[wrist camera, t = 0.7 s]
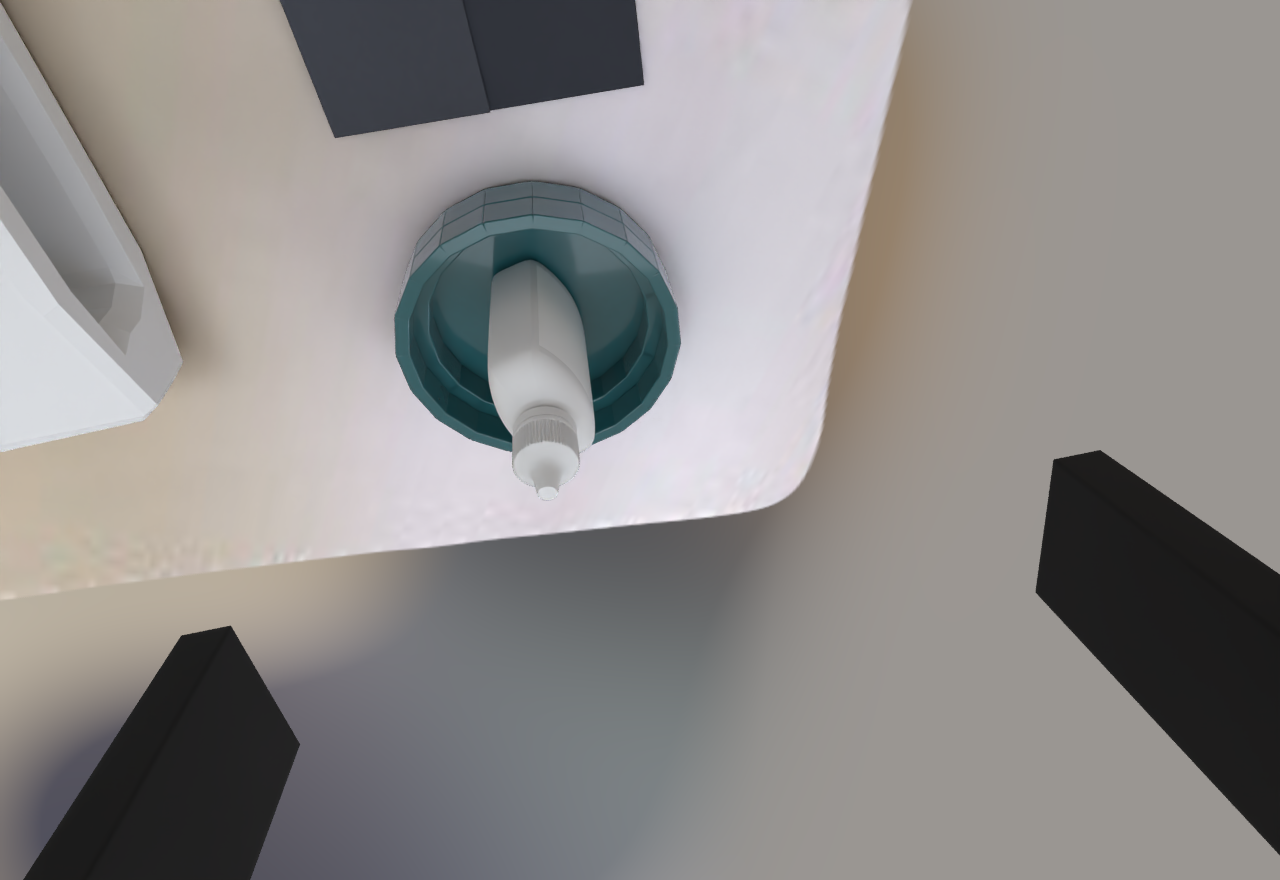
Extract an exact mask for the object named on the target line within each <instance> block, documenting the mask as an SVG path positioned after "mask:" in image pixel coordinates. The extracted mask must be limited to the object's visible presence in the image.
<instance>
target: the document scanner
mask: <svg viewBox="0 0 1280 880" xmlns="http://www.w3.org/2000/svg"><path fill="white" fill-rule="evenodd" d="M182 363H183V360H182V357H181V354H180V352H179V349H178V346H177V344H176V341H175V338H174V336H173V333H172V331H171V328H170V325H169V323H168V320H167V317H166V315H165V312H164V310H163V307H162V304H161V302H160V299H159V296H158V294H157V291H156V288H155V286H154V283H153V281H152V278H151V275H150V273H149V270H148V267H147V265H146V262H145V259H144V257H143V254H142V252H141V249H140V247H139V246H138V244H137V242H136V240H135V239H134V237H133V235H132V233H131V232H130V230H129V228H128V226H127V224H126V223H125V221H124V219H123V217H122V216H121V214H120V212H119V210H118V209H117V207H116V205H115V203H114V202H113V200H112V198H111V196H110V194H109V193H108V191H107V189H106V187H105V186H104V184H103V182H102V180H101V179H100V177H99V175H98V173H97V171H96V170H95V168H94V166H93V164H92V163H91V161H90V159H89V157H88V156H87V154H86V152H85V150H84V149H83V147H82V145H81V143H80V141H79V140H78V138H77V136H76V134H75V133H74V131H73V129H72V127H71V126H70V124H69V122H68V120H67V119H66V117H65V115H64V113H63V111H62V110H61V108H60V106H59V104H58V103H57V101H56V99H55V97H54V96H53V94H52V92H51V90H50V89H49V87H48V85H47V83H46V81H45V80H44V78H43V76H42V74H41V73H40V71H39V69H38V67H37V66H36V64H35V62H34V60H33V59H32V57H31V55H30V53H29V52H28V50H27V48H26V46H25V45H24V43H23V41H22V39H21V37H20V36H19V34H18V32H17V30H16V29H15V27H14V25H13V23H12V22H11V20H10V18H9V16H8V15H7V13H6V11H5V9H4V8H3V6H2V4H1V2H0V452H3V451H8V450H12V449H17V448H21V447H26V446H30V445H35V444H40V443H44V442H49V441H53V440H58V439H62V438H67V437H71V436H76V435H81V434H85V433H90V432H94V431H99V430H103V429H108V428H112V427H117V426H122V425H126V424H131V423H135V422H140V421H144V420H145V419H146V418H147V416H148V415H149V414H150V413H151V412H152V411H153V410H154V409H155V408H156V407H157V406H158V404H159V403H160V401H161V400H162V398H163V397H164V395H165V394H166V392H167V391H168V389H169V387H170V386H171V384H172V382H173V381H174V379H175V377H176V375H177V373H178V371H179V369H180V367H181V365H182Z"/></svg>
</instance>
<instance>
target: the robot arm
mask: <svg viewBox="0 0 1280 880" xmlns="http://www.w3.org/2000/svg"><path fill="white" fill-rule="evenodd" d="M1036 593H1037V594H1038V595H1039V597H1040V598H1041V599H1042V600H1043V601H1044V602H1045V603H1046V604H1047V605H1048V606H1049V607H1050V608H1051V610H1052V611H1053V612H1054V613H1055V614H1056V615H1057V616H1058V617H1059V618H1060V619H1061V620H1062V621H1063V622H1064V624H1065V625H1066V626H1067V627H1068V628H1069V629H1070V630H1071V631H1072V632H1073V633H1074V634H1075V635H1076V636H1077V637H1078V639H1079V640H1080V641H1081V642H1082V643H1083V644H1084V645H1085V646H1086V647H1087V648H1088V649H1089V650H1090V651H1091V652H1092V654H1093V655H1094V656H1095V657H1096V658H1097V659H1098V660H1099V661H1100V662H1101V663H1102V664H1103V665H1104V667H1105V668H1106V669H1107V670H1108V671H1109V672H1110V673H1111V674H1112V675H1113V676H1114V677H1115V678H1116V679H1117V681H1118V682H1119V683H1120V684H1121V685H1122V686H1123V687H1124V688H1125V689H1126V690H1127V691H1128V692H1129V693H1130V695H1131V696H1132V697H1133V698H1134V699H1135V700H1136V701H1137V702H1138V703H1139V704H1140V705H1141V706H1142V707H1143V709H1144V710H1145V711H1146V712H1147V713H1148V714H1149V715H1150V716H1151V717H1152V718H1153V719H1154V720H1155V721H1156V723H1157V724H1158V725H1159V726H1160V727H1161V728H1162V729H1163V730H1164V731H1165V732H1166V733H1167V734H1168V735H1169V737H1171V739H1172V740H1173V741H1174V742H1175V743H1176V744H1177V745H1178V746H1179V747H1180V748H1181V749H1182V751H1183V752H1184V753H1185V754H1186V755H1187V756H1188V757H1189V758H1190V759H1191V760H1192V761H1193V762H1194V763H1195V764H1196V766H1197V767H1198V768H1199V769H1200V770H1201V771H1202V772H1203V773H1204V774H1205V775H1206V776H1207V777H1208V778H1209V780H1211V782H1212V783H1213V784H1214V785H1215V786H1216V787H1217V788H1218V789H1219V790H1220V791H1221V792H1222V794H1223V795H1224V796H1225V797H1226V798H1227V799H1228V800H1229V801H1230V802H1231V803H1232V804H1233V805H1234V806H1235V807H1236V808H1237V809H1238V811H1239V812H1240V813H1241V814H1242V815H1243V816H1244V817H1245V818H1246V819H1247V820H1248V821H1249V823H1250V824H1251V825H1252V826H1253V827H1254V828H1255V829H1256V830H1257V831H1258V832H1259V833H1260V834H1261V835H1262V837H1263V838H1264V839H1266V841H1267V842H1268V843H1269V844H1270V845H1271V846H1272V847H1273V848H1274V849H1275V851H1277V853H1278V854H1279V855H1280V574H1278V573H1277V572H1275V571H1274V570H1273V569H1271V568H1270V567H1268V566H1267V565H1265V564H1264V563H1262V562H1261V561H1260V560H1258V559H1257V558H1255V557H1254V556H1252V555H1251V554H1249V553H1248V552H1247V551H1245V550H1244V549H1242V548H1241V547H1239V546H1238V545H1236V544H1235V543H1233V542H1232V541H1231V540H1229V539H1228V538H1226V537H1225V536H1223V535H1222V534H1221V533H1219V532H1218V531H1216V530H1215V529H1213V528H1212V527H1210V526H1209V525H1207V524H1206V523H1205V522H1203V521H1202V520H1200V519H1199V518H1197V517H1196V516H1195V515H1193V514H1192V513H1190V512H1189V511H1187V510H1186V509H1184V508H1183V507H1182V506H1180V505H1179V504H1177V503H1176V502H1174V501H1173V500H1171V499H1170V498H1169V497H1167V496H1166V495H1164V494H1163V493H1161V492H1160V491H1158V490H1157V489H1156V488H1154V487H1153V486H1151V485H1150V484H1148V483H1147V482H1145V481H1144V480H1143V479H1141V478H1140V477H1138V476H1137V475H1135V474H1134V473H1132V472H1131V471H1130V470H1128V469H1127V468H1125V467H1124V466H1122V465H1121V464H1119V463H1118V462H1116V461H1115V460H1114V459H1112V458H1111V457H1109V456H1108V455H1106V454H1105V453H1103V452H1102V451H1101V450H1099V451H1094V452H1089V453H1084V454H1079V455H1074V456H1069V457H1064V458H1059V459H1054V461H1053V468H1052V475H1051V482H1050V490H1049V497H1048V505H1047V512H1046V519H1045V526H1044V534H1043V541H1042V548H1041V556H1040V563H1039V571H1038V578H1037V585H1036ZM299 746H300V743H299V742H298V740H297V738H296V737H295V735H294V733H293V731H292V730H291V728H290V726H289V725H288V723H287V721H286V720H285V718H284V716H283V714H282V713H281V711H280V709H279V707H278V706H277V704H276V702H275V701H274V699H273V697H272V696H271V694H270V692H269V690H268V689H267V687H266V685H265V684H264V682H263V680H262V678H261V677H260V675H259V673H258V671H257V670H256V669H255V666H254V665H253V663H252V661H251V659H250V658H249V656H248V654H247V653H246V651H245V649H244V648H243V646H242V644H241V642H240V641H239V639H238V637H237V635H236V634H235V632H234V630H233V629H232V627H231V626H227V627H222V628H217V629H212V630H207V631H203V632H197V633H192V634H187V635H182V636H181V637H180V639H179V640H178V642H177V643H176V645H175V646H174V648H173V649H172V651H171V652H170V654H169V656H168V657H167V659H166V660H165V662H164V663H163V665H162V666H161V668H160V669H159V671H158V672H157V674H156V676H155V677H154V679H153V680H152V682H151V683H150V685H149V687H148V688H147V690H146V691H145V693H144V694H143V696H142V697H141V699H140V700H139V702H138V703H137V705H136V706H135V708H134V710H133V711H132V713H131V714H130V716H129V717H128V719H127V720H126V722H125V723H124V725H123V727H122V728H121V730H120V731H119V733H118V734H117V736H116V737H115V739H114V741H113V742H112V744H111V745H110V747H109V748H108V750H107V751H106V753H105V754H104V756H103V757H102V759H101V761H100V762H99V764H98V765H97V767H96V768H95V770H94V771H93V773H92V774H91V776H90V778H89V779H88V781H87V782H86V784H85V785H84V787H83V789H82V790H81V792H80V793H79V795H78V796H77V798H76V799H75V801H74V802H73V804H72V805H71V807H70V808H69V810H68V812H67V813H66V815H65V816H64V818H63V820H62V821H61V822H60V824H59V825H58V827H57V829H56V830H55V832H54V833H53V835H52V837H51V838H50V839H49V841H48V843H47V844H46V846H45V847H44V849H43V850H42V852H41V853H40V855H39V857H38V858H37V859H36V861H35V863H34V864H33V866H32V867H31V869H30V870H29V872H28V873H27V875H26V876H25V878H24V879H23V880H250V878H251V876H252V873H253V871H254V868H255V865H256V862H257V860H258V857H259V854H260V851H261V849H262V846H263V843H264V841H265V838H266V835H267V832H268V830H269V827H270V824H271V822H272V819H273V816H274V814H275V811H276V808H277V805H278V803H279V800H280V797H281V794H282V792H283V789H284V786H285V784H286V781H287V778H288V775H289V773H290V770H291V767H292V765H293V762H294V759H295V756H296V754H297V751H298V748H299Z"/></svg>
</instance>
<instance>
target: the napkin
mask: <svg viewBox="0 0 1280 880" xmlns="http://www.w3.org/2000/svg"><path fill="white" fill-rule="evenodd" d="M280 2H281V4H282V7H283V9H284V12H285V14H286V17H287V19H288V22H289V24H290V27H291V29H292V32H293V34H294V37H295V39H296V42H297V44H298V47H299V49H300V52H301V54H302V57H303V59H304V62H305V64H306V67H307V69H308V72H309V74H310V77H311V79H312V82H313V84H314V87H315V89H316V92H317V94H318V97H319V99H320V102H321V104H322V107H323V109H324V112H325V114H326V117H327V119H328V122H329V124H330V127H331V129H332V132H333V134H334V137H335V138H339V137H345V136H351V135H357V134H363V133H369V132H375V131H381V130H387V129H393V128H399V127H405V126H411V125H417V124H423V123H429V122H435V121H441V120H447V119H453V118H459V117H465V116H471V115H477V114H483V113H489V112H490V110H496V109H502V108H508V107H514V106H520V105H526V104H532V103H538V102H544V101H550V100H556V99H562V98H568V97H574V96H580V95H586V94H592V93H598V92H604V91H610V90H616V89H622V88H628V87H634V86H640V85H644V80H643V71H642V62H641V52H640V43H639V33H638V24H637V15H636V5H635V0H280Z"/></svg>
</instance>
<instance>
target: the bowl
mask: <svg viewBox="0 0 1280 880" xmlns="http://www.w3.org/2000/svg"><path fill="white" fill-rule="evenodd" d="M525 260H534V261H537V262H539V263H540V264H542V265H543V266H545V267H546V268H547V269H548V270H550V271H551V272H552V273H553V274H554V275H555V276H556V277H557V278H558V279H559V280H560V281H561V282H562V284H563V285H564V286H565V287H566V289H567V290H568V292H569V293H570V295H571V296H572V298H573V300H574V302H575V304H576V306H577V308H578V311H579V314H580V317H581V320H582V324H583V329H584V335H585V342H586V351H587V359H588V367H589V375H590V383H591V392H592V400H593V409H594V419H595V436H594V440H593V443H592V445H593V444H595V443H597V442H600V441H602V440H604V439H606V438H609V437H611V436H613V435H616V434H618V433H620V432H621V431H624V430H625V429H626V428H627V427H629V426H630V425H631V424H632V423H634V422H635V421H636V420H637V419H639V418H640V417H641V416H642V415H644V414H645V413H646V412H647V411H649V410H650V408H652V406H653V405H654V403H655V402H656V400H657V399H658V397H659V396H660V394H661V393H662V392H663V390H664V389H665V387H666V386H667V384H668V383H669V381H670V380H671V378H672V374H673V371H674V367H675V364H676V360H677V356H678V353H679V349H680V344H681V339H680V328H679V318H678V308H677V305H676V301H675V298H674V295H673V292H672V289H671V285H670V282H669V279H668V276H667V273H666V270H665V268H664V266H663V264H662V262H661V259H660V257H659V255H658V253H657V251H656V249H655V247H654V245H653V243H652V241H651V239H650V237H649V236H648V235H647V234H646V233H645V232H644V231H643V230H642V229H641V228H640V227H639V226H638V225H637V224H636V223H635V222H634V221H633V220H632V219H631V218H630V217H629V216H628V215H627V214H626V213H625V212H624V211H623V210H622V209H620V208H618V207H617V206H615V205H613V204H611V203H609V202H607V201H605V200H603V199H601V198H599V197H597V196H595V195H593V194H591V193H589V192H586V191H584V190H582V189H580V188H577V187H571V186H564V185H557V184H550V183H543V182H536V181H532V182H531V181H529V182H523V183H517V184H511V185H505V186H499V187H493V188H487V189H484V190H482V191H480V192H478V193H476V194H474V195H473V196H471V197H469V198H467V199H465V200H463V201H461V202H459V203H458V204H456V205H454V206H452V207H450V208H448V209H447V210H446V211H444V212H443V214H442V215H441V216H440V217H439V218H438V219H437V220H436V221H435V222H434V223H433V225H432V226H431V227H430V228H429V229H428V230H427V231H426V232H425V233H424V235H423V236H422V237H421V238H420V239H419V240H418V242H417V244H416V246H415V249H414V252H413V254H412V257H411V260H410V262H409V265H408V268H407V270H406V273H405V276H404V279H403V283H402V288H401V292H400V296H399V299H398V304H397V308H396V312H395V317H394V323H395V354H396V357H397V360H398V362H399V364H400V367H401V369H402V371H403V374H404V376H405V378H406V381H407V383H408V385H409V388H410V390H411V391H412V392H413V394H414V395H415V396H416V397H417V398H418V399H419V400H420V401H421V402H422V403H423V405H424V406H425V407H426V408H427V409H428V410H429V411H430V412H431V413H432V414H433V416H434V417H435V418H436V419H438V420H439V421H440V422H442V423H444V424H445V425H447V426H449V427H450V428H452V429H453V430H455V431H457V432H458V433H460V434H462V435H463V436H465V437H467V438H468V439H471V440H472V441H476V442H479V443H482V444H486V445H489V446H492V447H496V448H499V449H502V450H506V451H510V452H512V437H513V436H512V435H511V433H510V432H509V431H508V430H507V428H506V427H505V425H504V424H503V422H502V420H501V418H500V416H499V414H498V412H497V410H496V407H495V405H494V402H493V399H492V395H491V391H490V386H489V379H488V339H489V319H490V301H491V285H492V280H493V277H494V276H495V275H496V274H497V273H498V272H500V271H502V270H504V269H506V268H509V267H511V266H513V265H515V264H517V263H520V262H522V261H525Z"/></svg>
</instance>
